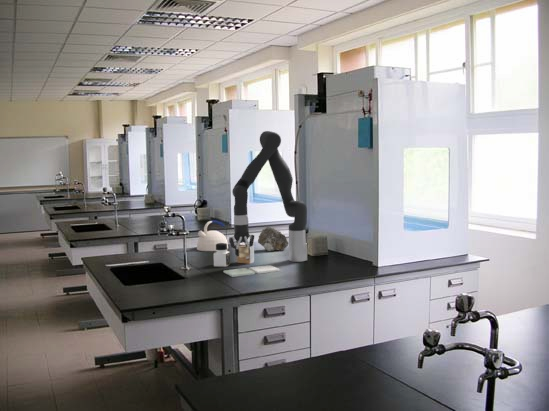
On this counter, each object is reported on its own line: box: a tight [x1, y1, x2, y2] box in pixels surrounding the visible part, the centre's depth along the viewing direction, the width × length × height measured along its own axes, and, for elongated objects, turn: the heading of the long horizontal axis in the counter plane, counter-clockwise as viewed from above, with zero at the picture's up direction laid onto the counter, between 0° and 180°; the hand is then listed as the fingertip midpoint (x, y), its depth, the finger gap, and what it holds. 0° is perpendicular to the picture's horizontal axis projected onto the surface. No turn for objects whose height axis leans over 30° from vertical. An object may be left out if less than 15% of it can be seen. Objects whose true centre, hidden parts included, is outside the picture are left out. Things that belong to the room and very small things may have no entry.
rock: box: [257, 226, 289, 252], centre depth 344 cm, size 18×14×15 cm
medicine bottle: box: [213, 243, 231, 268], centre depth 300 cm, size 7×7×12 cm
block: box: [238, 246, 249, 257], centre depth 293 cm, size 5×5×5 cm
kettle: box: [196, 220, 229, 252], centre depth 355 cm, size 20×21×18 cm
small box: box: [236, 242, 255, 265], centre depth 306 cm, size 8×6×10 cm
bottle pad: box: [223, 267, 256, 278], centre depth 279 cm, size 12×12×1 cm
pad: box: [248, 264, 281, 274], centre depth 285 cm, size 12×12×1 cm
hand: (242, 255), depth 293 cm, fingers closed on block, 5 cm apart
